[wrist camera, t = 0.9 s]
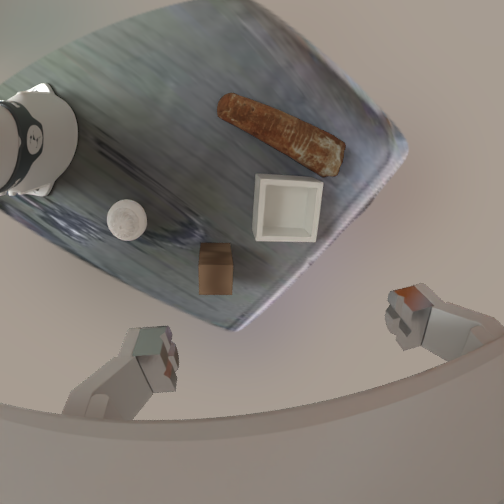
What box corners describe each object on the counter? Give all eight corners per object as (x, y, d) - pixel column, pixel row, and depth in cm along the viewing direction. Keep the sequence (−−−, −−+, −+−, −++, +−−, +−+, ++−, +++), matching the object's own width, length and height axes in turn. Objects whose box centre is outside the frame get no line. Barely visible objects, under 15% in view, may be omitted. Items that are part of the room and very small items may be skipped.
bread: (321, 177, 45) (334, 184, 40) (210, 118, 39) (209, 116, 34) (340, 143, 43) (355, 146, 38) (231, 81, 38) (233, 74, 33)
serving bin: (251, 229, 47) (256, 241, 42) (255, 173, 43) (260, 178, 39) (306, 230, 48) (315, 242, 43) (312, 177, 44) (323, 182, 40)
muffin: (110, 225, 43) (95, 241, 37) (120, 189, 42) (104, 199, 35) (145, 237, 45) (135, 255, 39) (156, 201, 43) (147, 214, 37)
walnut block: (200, 269, 48) (199, 294, 41) (200, 242, 47) (198, 264, 39) (229, 269, 49) (232, 294, 42) (230, 242, 47) (233, 264, 40)
